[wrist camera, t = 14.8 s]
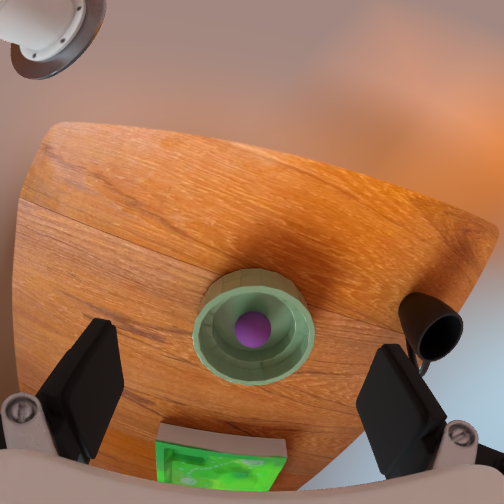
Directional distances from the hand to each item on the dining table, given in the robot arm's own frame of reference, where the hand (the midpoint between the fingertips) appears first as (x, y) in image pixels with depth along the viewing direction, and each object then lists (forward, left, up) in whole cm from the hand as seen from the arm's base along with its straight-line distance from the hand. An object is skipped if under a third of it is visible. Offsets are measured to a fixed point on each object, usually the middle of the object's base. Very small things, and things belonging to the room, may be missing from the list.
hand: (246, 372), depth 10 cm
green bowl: (+13, -9, -30) cm, 34 cm away
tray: (+39, -40, -31) cm, 64 cm away
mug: (+30, +10, -31) cm, 44 cm away
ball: (+13, -9, -30) cm, 34 cm away
